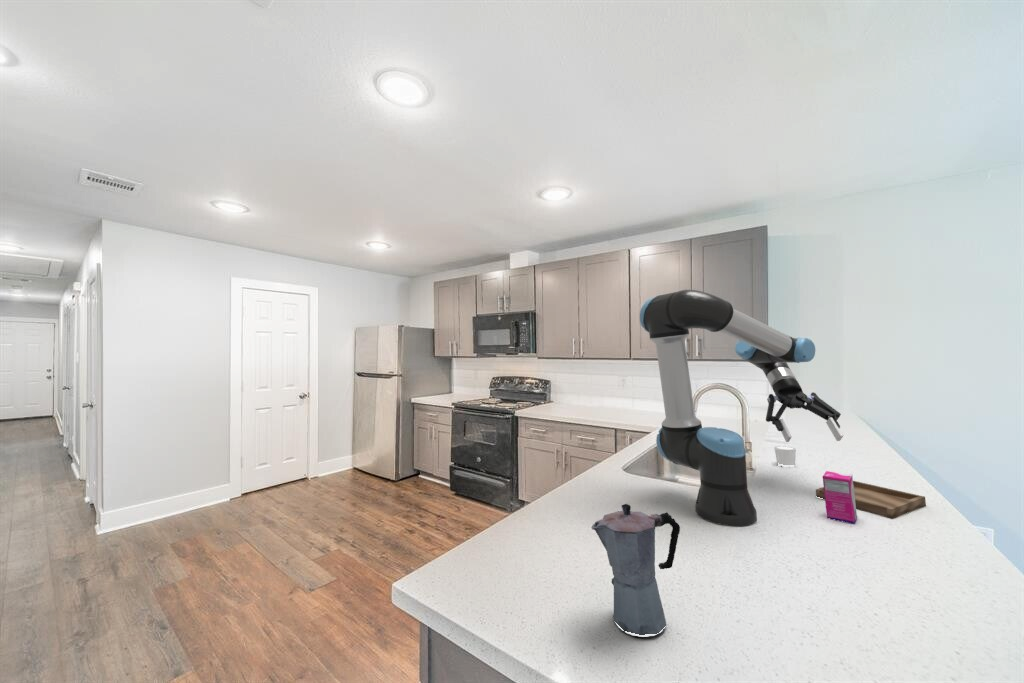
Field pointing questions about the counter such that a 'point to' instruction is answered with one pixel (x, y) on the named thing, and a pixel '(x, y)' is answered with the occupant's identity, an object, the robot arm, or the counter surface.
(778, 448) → the shot glass
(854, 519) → the supplement box
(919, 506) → the walnut tray
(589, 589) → the counter surface
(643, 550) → the moka pot
